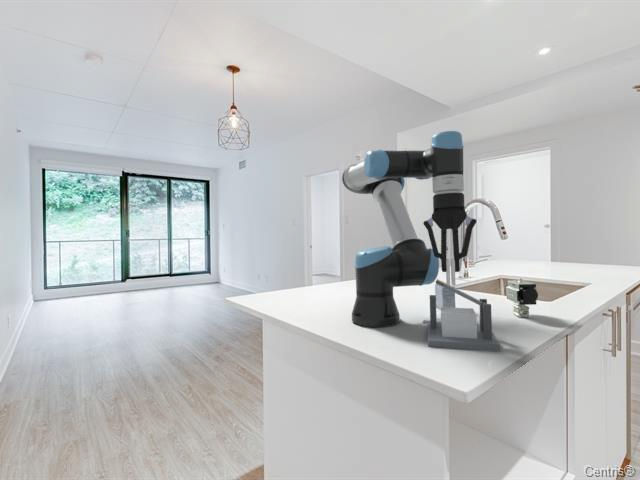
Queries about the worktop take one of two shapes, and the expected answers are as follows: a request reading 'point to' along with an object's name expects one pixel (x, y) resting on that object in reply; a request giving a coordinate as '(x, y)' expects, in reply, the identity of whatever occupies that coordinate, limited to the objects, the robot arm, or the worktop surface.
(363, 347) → the worktop surface
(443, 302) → the medicine box
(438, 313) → the external hard drive
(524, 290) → the pneumatic valve
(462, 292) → the lever
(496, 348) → the heatsink base
